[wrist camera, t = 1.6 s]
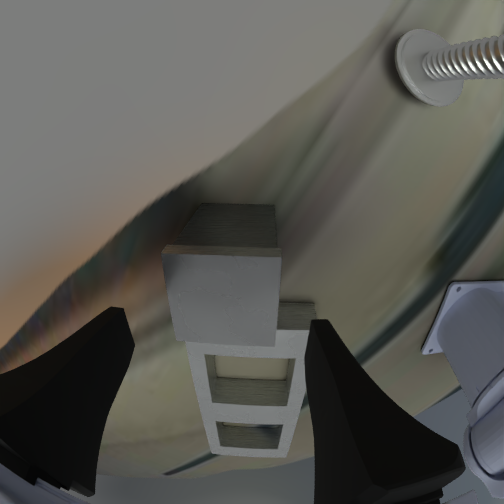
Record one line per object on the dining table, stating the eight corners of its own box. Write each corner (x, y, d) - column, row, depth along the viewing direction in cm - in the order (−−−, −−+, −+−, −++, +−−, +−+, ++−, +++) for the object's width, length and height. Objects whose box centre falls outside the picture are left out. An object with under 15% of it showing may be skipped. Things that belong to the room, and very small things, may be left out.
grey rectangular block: (276, 202, 17) (281, 257, 11) (273, 270, 20) (274, 346, 13) (199, 201, 18) (161, 253, 11) (203, 268, 20) (176, 340, 13)
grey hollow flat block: (313, 302, 21) (319, 330, 18) (286, 437, 30) (286, 457, 28) (191, 298, 21) (182, 324, 18) (214, 434, 31) (211, 453, 28)
